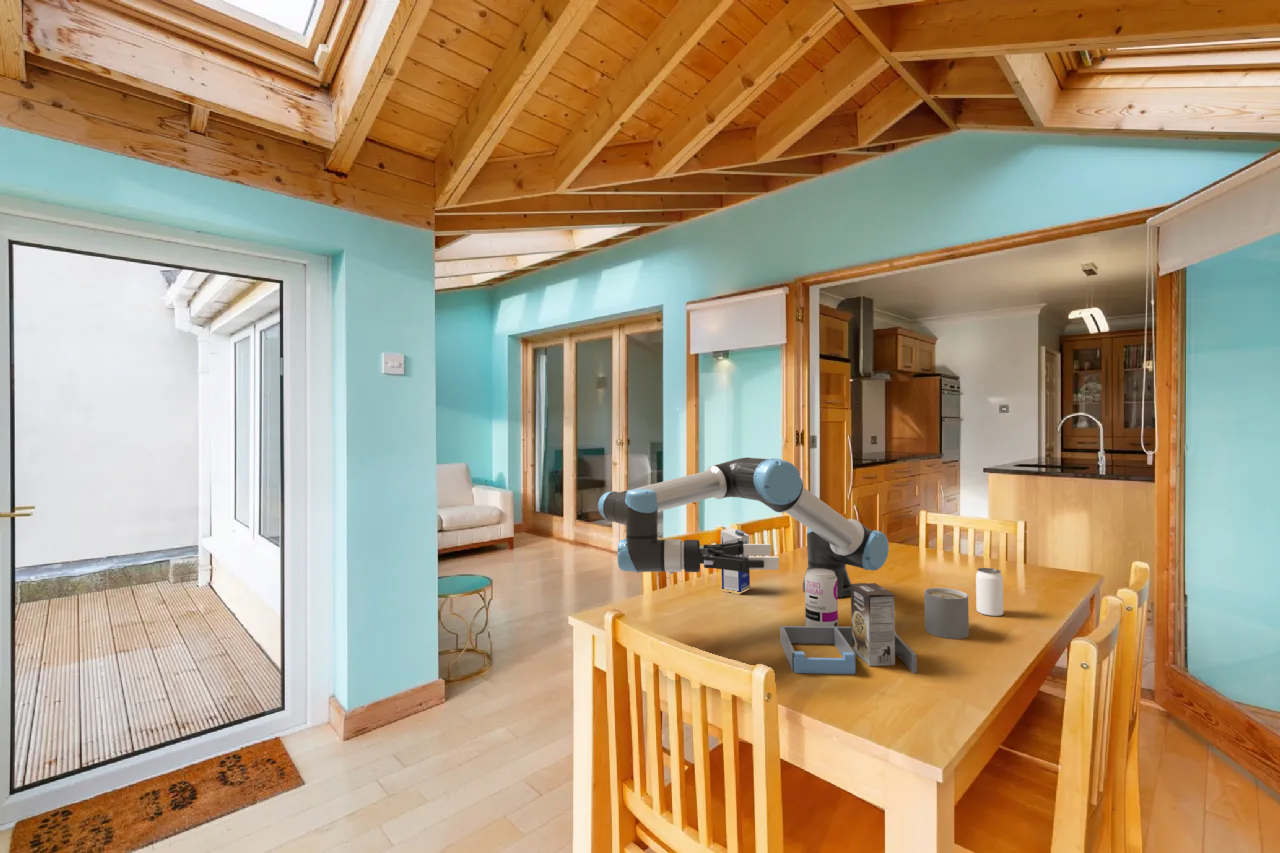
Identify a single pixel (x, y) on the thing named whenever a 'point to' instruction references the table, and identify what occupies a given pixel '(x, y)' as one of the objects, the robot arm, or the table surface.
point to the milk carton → (730, 535)
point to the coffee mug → (946, 613)
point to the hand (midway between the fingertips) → (774, 556)
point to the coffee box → (873, 623)
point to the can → (989, 592)
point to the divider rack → (841, 640)
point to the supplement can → (821, 598)
